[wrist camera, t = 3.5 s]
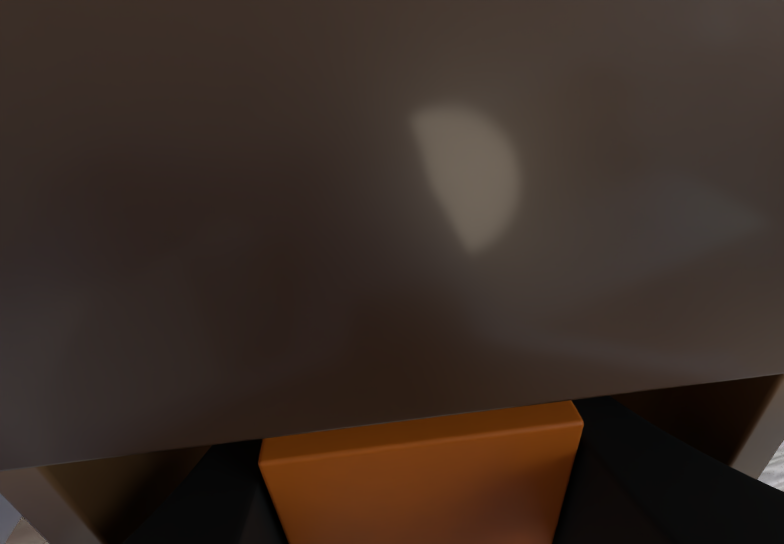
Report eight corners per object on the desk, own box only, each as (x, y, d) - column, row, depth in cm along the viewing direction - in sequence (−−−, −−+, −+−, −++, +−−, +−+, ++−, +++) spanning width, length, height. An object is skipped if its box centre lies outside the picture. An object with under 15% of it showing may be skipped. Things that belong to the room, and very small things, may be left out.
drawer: (558, 492, 19) (644, 684, 13) (256, 532, 18) (220, 752, 13) (674, 35, 9) (1115, 68, 4) (54, 87, 9) (-407, 210, 3)
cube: (481, 396, 13) (545, 575, 9) (322, 415, 13) (312, 609, 9) (490, 259, 11) (587, 422, 6) (291, 280, 10) (256, 465, 6)
